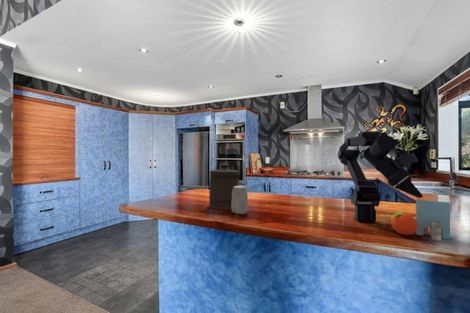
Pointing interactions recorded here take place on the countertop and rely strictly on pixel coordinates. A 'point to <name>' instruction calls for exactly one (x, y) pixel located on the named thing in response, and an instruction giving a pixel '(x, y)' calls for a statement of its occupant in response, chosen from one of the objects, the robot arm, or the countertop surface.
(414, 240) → the countertop surface
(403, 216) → the clementine
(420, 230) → the teal slotted plate
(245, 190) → the carving
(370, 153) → the robot arm
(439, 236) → the birch slotted plate
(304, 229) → the countertop surface
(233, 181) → the wooden container
